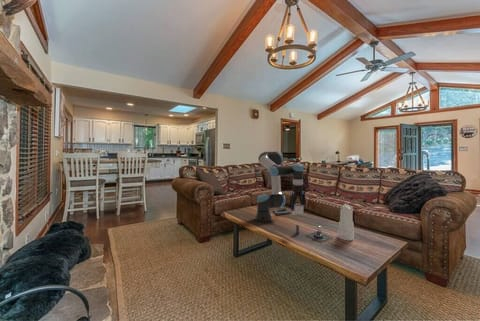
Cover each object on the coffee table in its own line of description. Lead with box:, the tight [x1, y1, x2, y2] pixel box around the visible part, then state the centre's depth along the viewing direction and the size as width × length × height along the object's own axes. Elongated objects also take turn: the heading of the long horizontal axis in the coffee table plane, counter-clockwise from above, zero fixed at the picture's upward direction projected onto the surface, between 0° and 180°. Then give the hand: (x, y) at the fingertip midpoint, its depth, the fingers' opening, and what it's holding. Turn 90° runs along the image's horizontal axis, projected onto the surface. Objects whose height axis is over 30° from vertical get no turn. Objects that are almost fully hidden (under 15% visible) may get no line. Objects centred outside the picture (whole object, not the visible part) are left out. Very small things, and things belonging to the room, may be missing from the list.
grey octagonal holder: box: [295, 203, 304, 215], centre depth 167 cm, size 8×8×6 cm
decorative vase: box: [337, 203, 355, 241], centre depth 163 cm, size 11×11×25 cm
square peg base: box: [304, 225, 334, 244], centre depth 163 cm, size 14×14×9 cm
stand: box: [293, 224, 302, 237], centre depth 168 cm, size 6×6×8 cm
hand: (297, 213), depth 167 cm, fingers closed on grey octagonal holder, 8 cm apart
